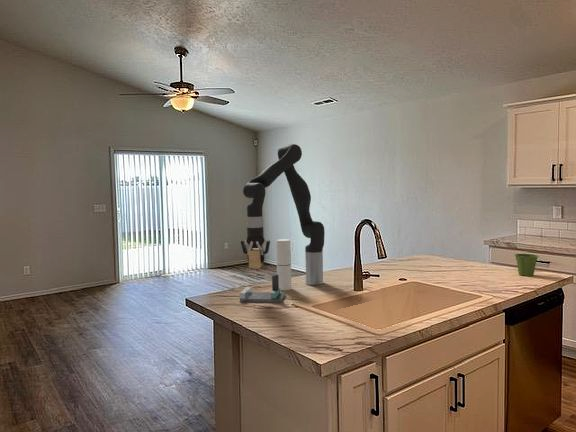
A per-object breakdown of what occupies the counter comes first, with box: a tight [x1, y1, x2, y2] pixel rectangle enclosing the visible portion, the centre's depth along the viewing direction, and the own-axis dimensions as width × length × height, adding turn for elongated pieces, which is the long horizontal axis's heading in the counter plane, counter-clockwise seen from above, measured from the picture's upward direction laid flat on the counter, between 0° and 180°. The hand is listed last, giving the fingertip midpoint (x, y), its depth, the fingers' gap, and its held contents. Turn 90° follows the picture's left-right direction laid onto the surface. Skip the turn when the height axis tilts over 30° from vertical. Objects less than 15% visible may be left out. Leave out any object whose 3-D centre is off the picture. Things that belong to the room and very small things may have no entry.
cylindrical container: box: [275, 238, 292, 291], centre depth 219 cm, size 7×7×25 cm
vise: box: [239, 286, 286, 304], centre depth 202 cm, size 12×19×4 cm, turn 80°
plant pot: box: [514, 253, 540, 277], centre depth 240 cm, size 12×12×11 cm
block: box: [248, 248, 264, 269], centre depth 201 cm, size 8×5×8 cm, turn 171°
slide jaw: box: [270, 273, 281, 298], centre depth 200 cm, size 11×3×10 cm, turn 170°
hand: (256, 262), depth 201 cm, fingers closed on block, 5 cm apart
